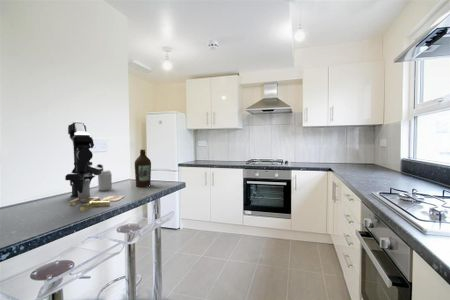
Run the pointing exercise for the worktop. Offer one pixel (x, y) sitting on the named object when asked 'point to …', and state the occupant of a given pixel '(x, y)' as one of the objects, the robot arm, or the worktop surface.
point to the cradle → (84, 200)
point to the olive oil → (143, 170)
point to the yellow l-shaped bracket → (94, 204)
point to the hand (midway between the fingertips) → (83, 191)
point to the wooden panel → (112, 198)
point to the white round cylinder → (85, 190)
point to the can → (105, 180)
